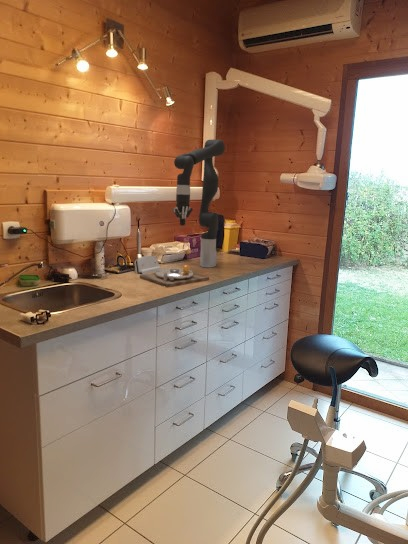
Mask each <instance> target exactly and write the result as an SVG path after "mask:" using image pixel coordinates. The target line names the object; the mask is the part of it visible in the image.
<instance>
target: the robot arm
mask: <svg viewBox="0 0 408 544" xmlns="http://www.w3.org/2000/svg"><path fill="white" fill-rule="evenodd" d="M225 151H226V146H225V143H224V141H223V140H222V139H207V140H206V141H205V143H204V147H202V148H197V149H194V150H192V151H190V152H186V153H183V154H179V155H177V156H176V157H175V158H174V160H173V164H174V166H175V168H176V169H178V170H183V172H182V173H178V174H177V177H176V192H175V193H176V194H175V196H176V197H175V201H176V202H175V203H176V205H175V208H172V212H173V213H174V215H175V216H176V218H178V219H179V225H180V226H181V227H184V226H185V225H186V219H187V218H189V217H190V215H191V213H192V212H193V208H192V207H191V206H190V205H191V204H190V202H191V186H190V185H191V176H192V172H193V168H194V167H195V166H194V165H197V164H199V163H201V162H203V161H204V163H203V178H202V179H203V180H202V189H201V190H202V191H201V203H200V207H199V208H200V209H199V210H200V211H199V213H198V214H199V215H198V224H199V225H200V227H203V228H208V230H207V231H205V232H202V233H201V235H200V259H199V262H200V263H199V266H200V267H202V268H215V267H216V266H217V255H218V252H217V235H218V231H219V229H218V228H219V214H218V213H217V212H213V211H209V208H210V204H211V202H212V200H213V199H214V197H215V196H216V194H217V192H218V190H219V175H218V174H217V171H216V170H215V167H214V162H213V159H214V158H213V157H219V156H222V155H223V154H224V153H225Z"/></svg>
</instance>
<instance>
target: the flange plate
mask: <svg viewBox="0 0 408 544" xmlns="http://www.w3.org/2000/svg"><path fill="white" fill-rule="evenodd" d="M164 272H167V279H170V280H174V279H186V278H191V277H193V273H194V271H193V270H190V265H189V264H183V265H182V268H178V267H166V268H161V269H159V270H157V271H156V272H155V273H156V276H158V277H161V278H164Z"/></svg>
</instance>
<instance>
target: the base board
mask: <svg viewBox="0 0 408 544" xmlns="http://www.w3.org/2000/svg"><path fill="white" fill-rule="evenodd" d="M139 279H142V280H144V281H146V282H147V281H148V282H150V283H154V284H156V285H159V286H163V287H164V286H165V288H171V287H177V286H181V285H182V286H183V285H188V284H195V283H201V282H205V281H206V282H207V281H209V280H210V276H206V275H202V274H199V273H196V272H193V277H191V278H186V279H174V280H170V279H167V272H164V278H161V277H158V276H156V272H152V273H148V274H143V275H142V274H139Z"/></svg>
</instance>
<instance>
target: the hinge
mask: <svg viewBox="0 0 408 544" xmlns="http://www.w3.org/2000/svg"><path fill="white" fill-rule="evenodd" d="M133 262H134V269H135V274H139V273H141V275H145V274H151V272H152V273H156V272H155V271H157V270H159V269H162V267H161V266H160V264H159V261H158V258H157V256H156V255H155V256H154V255H144V256H141V257H138V258H137V259H136V260H134V261H133Z"/></svg>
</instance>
